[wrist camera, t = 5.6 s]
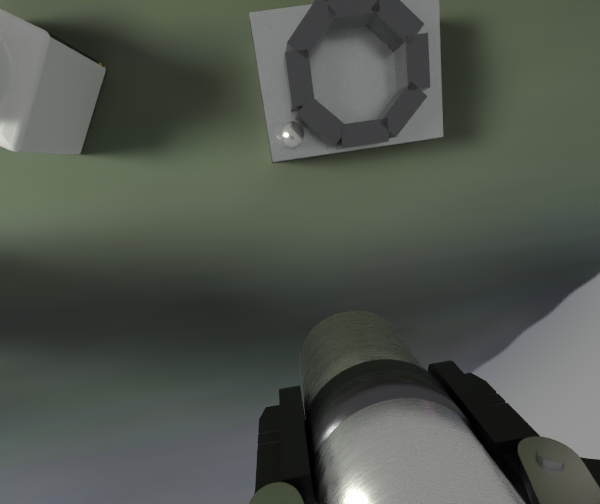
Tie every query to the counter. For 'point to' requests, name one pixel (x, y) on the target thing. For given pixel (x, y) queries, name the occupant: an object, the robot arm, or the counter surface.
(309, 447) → the lens
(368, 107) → the octagon ring plate
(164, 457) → the counter surface
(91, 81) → the medicine bottle
